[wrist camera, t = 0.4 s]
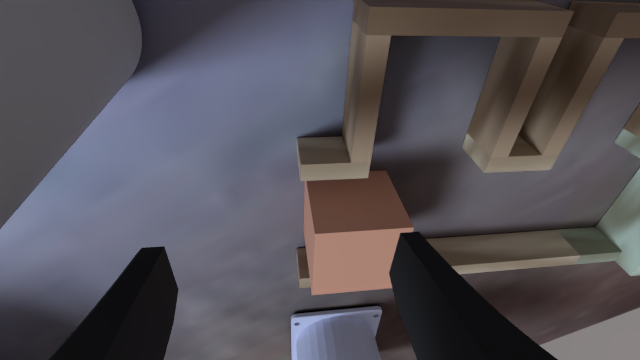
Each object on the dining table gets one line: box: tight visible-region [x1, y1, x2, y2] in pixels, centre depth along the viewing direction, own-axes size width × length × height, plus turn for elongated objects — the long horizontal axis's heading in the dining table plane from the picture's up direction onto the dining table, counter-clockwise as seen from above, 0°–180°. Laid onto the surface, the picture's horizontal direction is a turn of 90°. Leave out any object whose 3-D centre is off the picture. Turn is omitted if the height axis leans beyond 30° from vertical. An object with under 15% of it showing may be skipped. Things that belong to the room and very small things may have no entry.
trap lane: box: [297, 0, 640, 288], centre depth 19 cm, size 17×25×4 cm
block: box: [304, 170, 414, 295], centre depth 20 cm, size 5×5×5 cm
